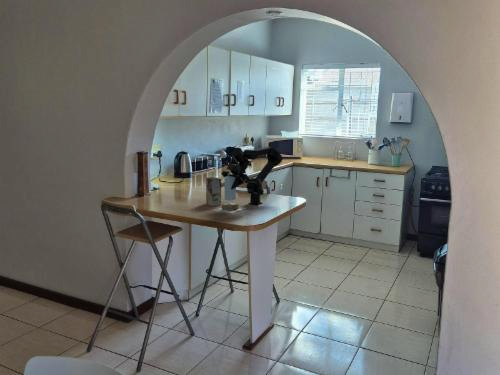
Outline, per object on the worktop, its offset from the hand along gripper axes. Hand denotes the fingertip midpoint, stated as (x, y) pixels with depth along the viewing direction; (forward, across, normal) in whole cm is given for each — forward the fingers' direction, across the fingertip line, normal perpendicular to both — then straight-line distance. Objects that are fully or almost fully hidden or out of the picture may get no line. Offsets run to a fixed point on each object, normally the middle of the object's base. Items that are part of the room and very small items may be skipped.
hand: (228, 188), depth 257 cm
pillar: (+4, 0, +6) cm, 7 cm away
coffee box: (+6, -18, +13) cm, 22 cm away
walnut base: (+8, 0, +10) cm, 13 cm away
